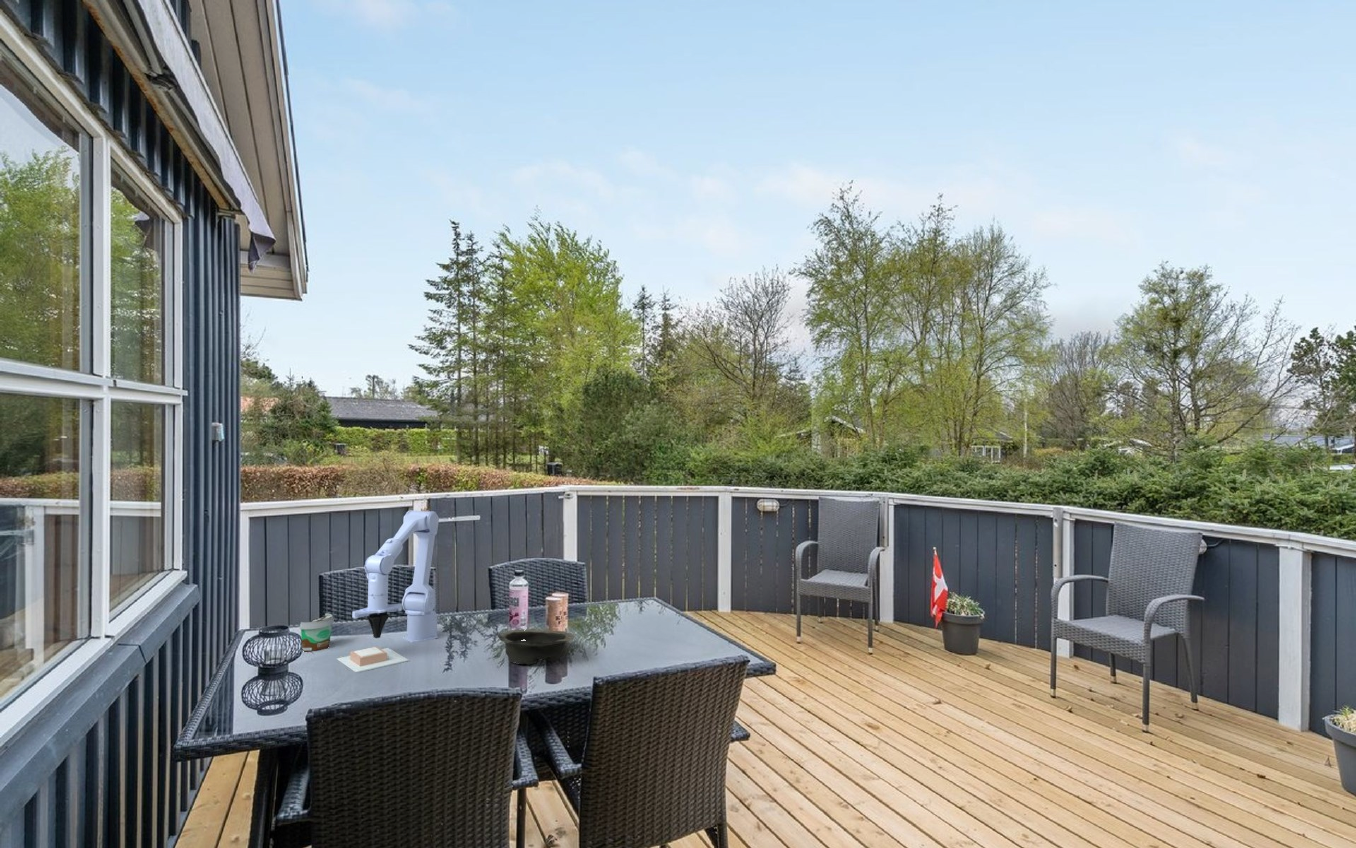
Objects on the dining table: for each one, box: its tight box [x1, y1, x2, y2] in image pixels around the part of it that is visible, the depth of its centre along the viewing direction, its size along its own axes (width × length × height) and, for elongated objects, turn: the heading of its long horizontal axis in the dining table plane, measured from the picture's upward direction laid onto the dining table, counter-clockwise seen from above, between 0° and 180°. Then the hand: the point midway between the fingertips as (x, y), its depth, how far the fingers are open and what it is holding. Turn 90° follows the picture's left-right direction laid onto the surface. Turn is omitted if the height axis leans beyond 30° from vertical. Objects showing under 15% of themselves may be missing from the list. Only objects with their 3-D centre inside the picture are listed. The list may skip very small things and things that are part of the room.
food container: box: [299, 612, 335, 653], centre depth 225 cm, size 12×6×10 cm, turn 168°
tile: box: [349, 646, 387, 666], centre depth 214 cm, size 3×8×8 cm
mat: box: [334, 646, 411, 674], centre depth 215 cm, size 16×18×1 cm
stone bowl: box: [496, 628, 576, 665], centre depth 222 cm, size 25×25×9 cm
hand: (376, 637), depth 216 cm, fingers closed
